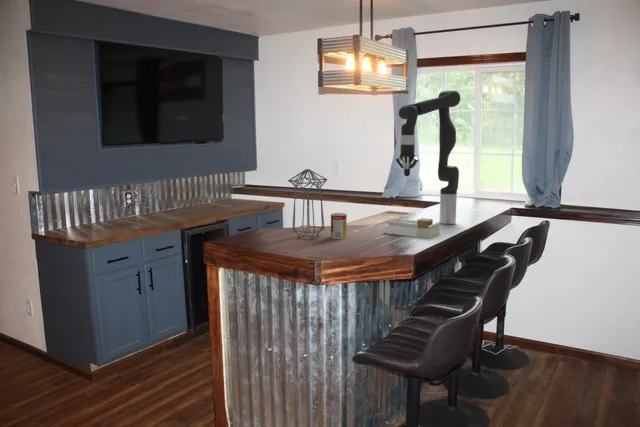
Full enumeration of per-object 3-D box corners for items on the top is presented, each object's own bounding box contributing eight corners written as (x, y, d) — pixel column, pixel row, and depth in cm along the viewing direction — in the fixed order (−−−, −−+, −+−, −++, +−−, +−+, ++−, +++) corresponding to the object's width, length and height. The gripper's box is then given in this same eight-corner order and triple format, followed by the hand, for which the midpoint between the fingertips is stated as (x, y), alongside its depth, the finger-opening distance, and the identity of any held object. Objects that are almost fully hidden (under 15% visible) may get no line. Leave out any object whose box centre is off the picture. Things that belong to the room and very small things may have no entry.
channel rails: (396, 222, 299) (396, 218, 299) (425, 225, 290) (425, 221, 290) (388, 225, 291) (388, 221, 290) (418, 228, 282) (418, 224, 281)
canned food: (345, 236, 283) (345, 212, 281) (347, 239, 275) (347, 215, 273) (330, 236, 283) (330, 213, 281) (331, 239, 275) (331, 215, 273)
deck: (395, 228, 302) (396, 218, 301) (439, 233, 289) (439, 222, 288) (384, 233, 290) (384, 221, 289) (429, 238, 277) (429, 226, 276)
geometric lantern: (329, 237, 280) (329, 168, 274) (313, 243, 267) (312, 171, 261) (303, 233, 288) (302, 166, 282) (286, 239, 275) (285, 169, 269)
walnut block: (421, 225, 289) (421, 218, 288) (432, 226, 286) (432, 219, 285) (417, 227, 284) (417, 219, 283) (428, 228, 281) (428, 220, 280)
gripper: (421, 143, 294) (421, 176, 297) (399, 143, 301) (398, 175, 304) (416, 144, 288) (415, 177, 291) (393, 143, 295) (392, 176, 298)
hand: (406, 176), depth 298 cm, fingers closed
